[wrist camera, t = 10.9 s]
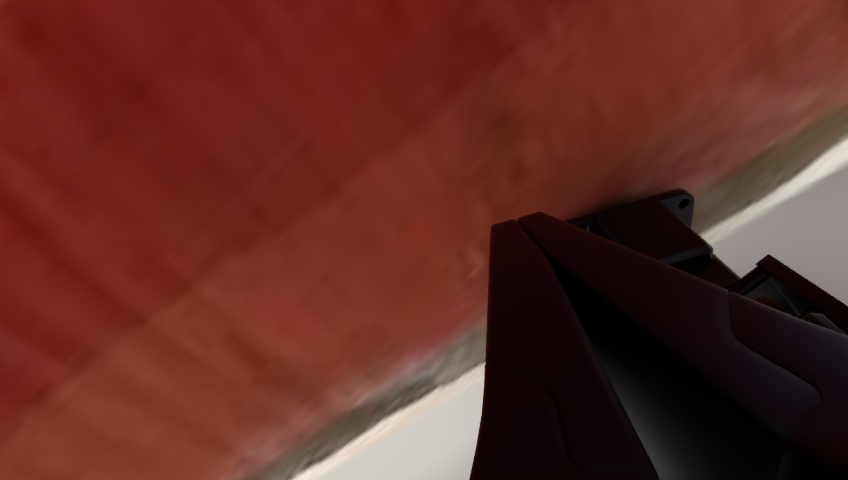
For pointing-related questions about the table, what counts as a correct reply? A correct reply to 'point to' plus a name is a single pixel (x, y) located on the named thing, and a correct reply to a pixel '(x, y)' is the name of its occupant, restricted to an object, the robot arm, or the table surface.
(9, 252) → the table surface
